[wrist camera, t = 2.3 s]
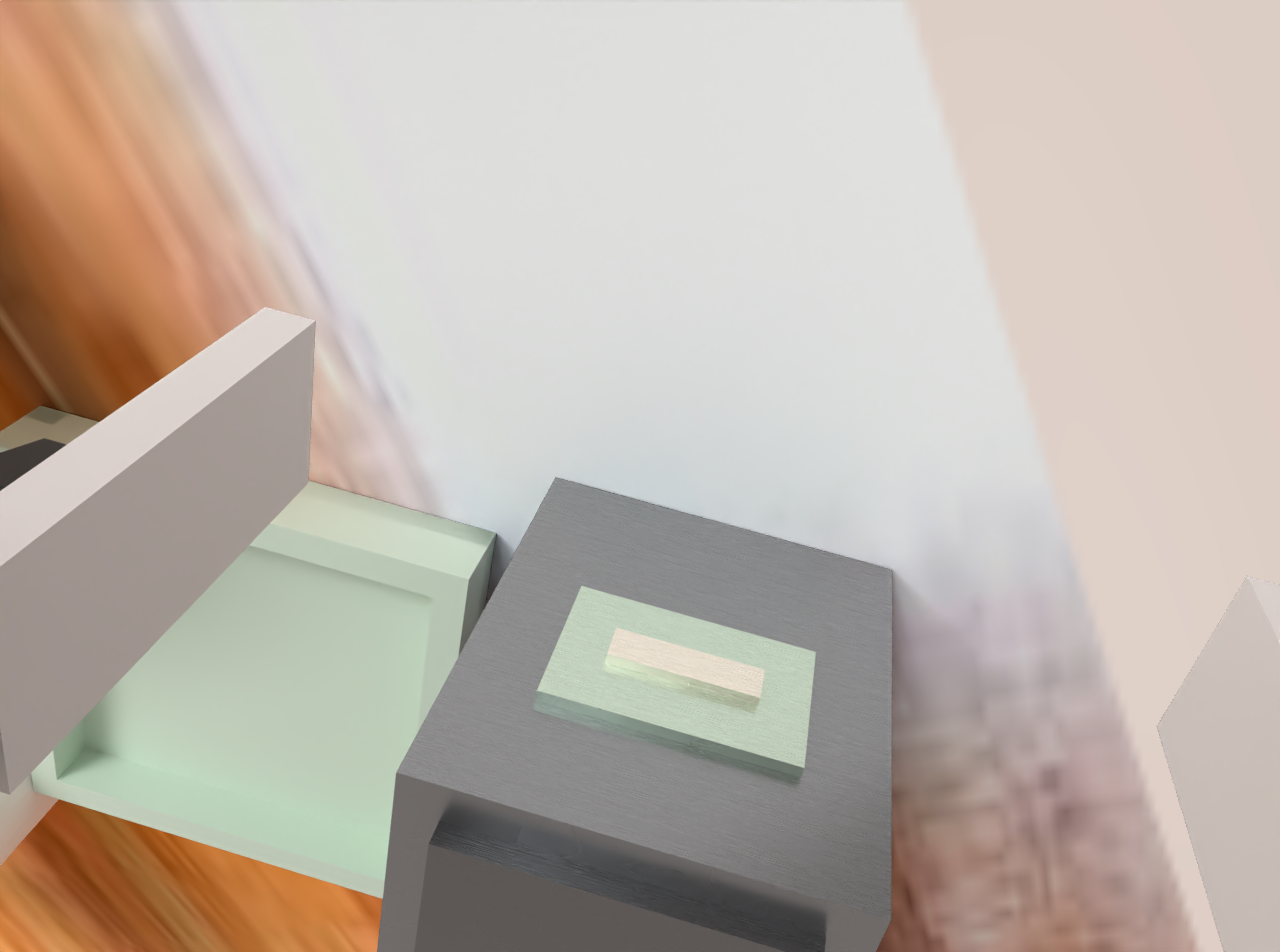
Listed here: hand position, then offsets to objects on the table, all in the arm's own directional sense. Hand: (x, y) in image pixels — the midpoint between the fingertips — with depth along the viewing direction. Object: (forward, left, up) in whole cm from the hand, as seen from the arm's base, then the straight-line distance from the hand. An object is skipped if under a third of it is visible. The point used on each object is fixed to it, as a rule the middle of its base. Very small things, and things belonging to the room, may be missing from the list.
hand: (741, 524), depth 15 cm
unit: (+15, 0, -14) cm, 20 cm away
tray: (+19, -14, -14) cm, 27 cm away
